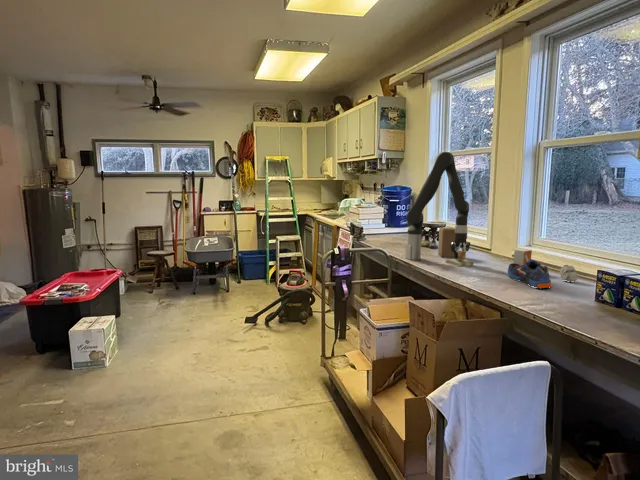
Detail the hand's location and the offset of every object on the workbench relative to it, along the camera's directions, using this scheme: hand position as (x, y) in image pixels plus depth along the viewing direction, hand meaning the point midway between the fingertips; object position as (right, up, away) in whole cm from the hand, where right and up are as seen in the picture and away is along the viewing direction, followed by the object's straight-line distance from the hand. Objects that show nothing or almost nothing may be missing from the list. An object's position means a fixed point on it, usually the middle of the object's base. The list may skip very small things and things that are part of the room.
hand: (459, 258), depth 266 cm
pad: (0, -4, +1) cm, 4 cm away
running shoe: (+22, -11, -45) cm, 51 cm away
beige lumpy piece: (+43, -11, -44) cm, 63 cm away
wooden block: (-1, 0, +26) cm, 26 cm away
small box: (+30, -7, -20) cm, 37 cm away
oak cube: (0, -1, 0) cm, 1 cm away
